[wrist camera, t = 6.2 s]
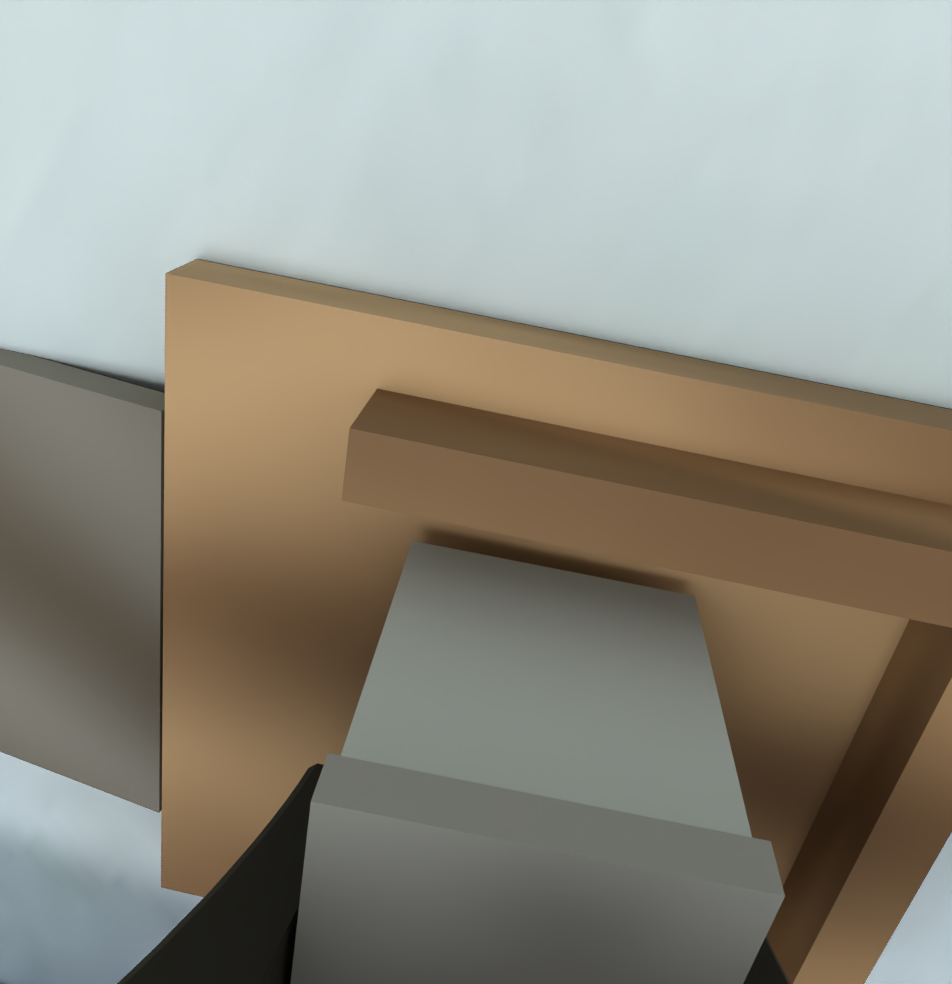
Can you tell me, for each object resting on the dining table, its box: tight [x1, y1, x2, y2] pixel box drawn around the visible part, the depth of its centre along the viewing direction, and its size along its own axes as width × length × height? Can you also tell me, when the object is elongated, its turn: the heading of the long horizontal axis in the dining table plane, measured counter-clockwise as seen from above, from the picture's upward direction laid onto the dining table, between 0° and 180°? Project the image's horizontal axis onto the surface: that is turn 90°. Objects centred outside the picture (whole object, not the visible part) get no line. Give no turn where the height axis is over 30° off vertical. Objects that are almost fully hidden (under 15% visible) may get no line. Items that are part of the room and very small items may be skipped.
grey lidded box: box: [290, 541, 785, 984], centre depth 11 cm, size 6×4×5 cm
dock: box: [0, 259, 952, 984], centre depth 14 cm, size 12×18×3 cm, turn 80°
